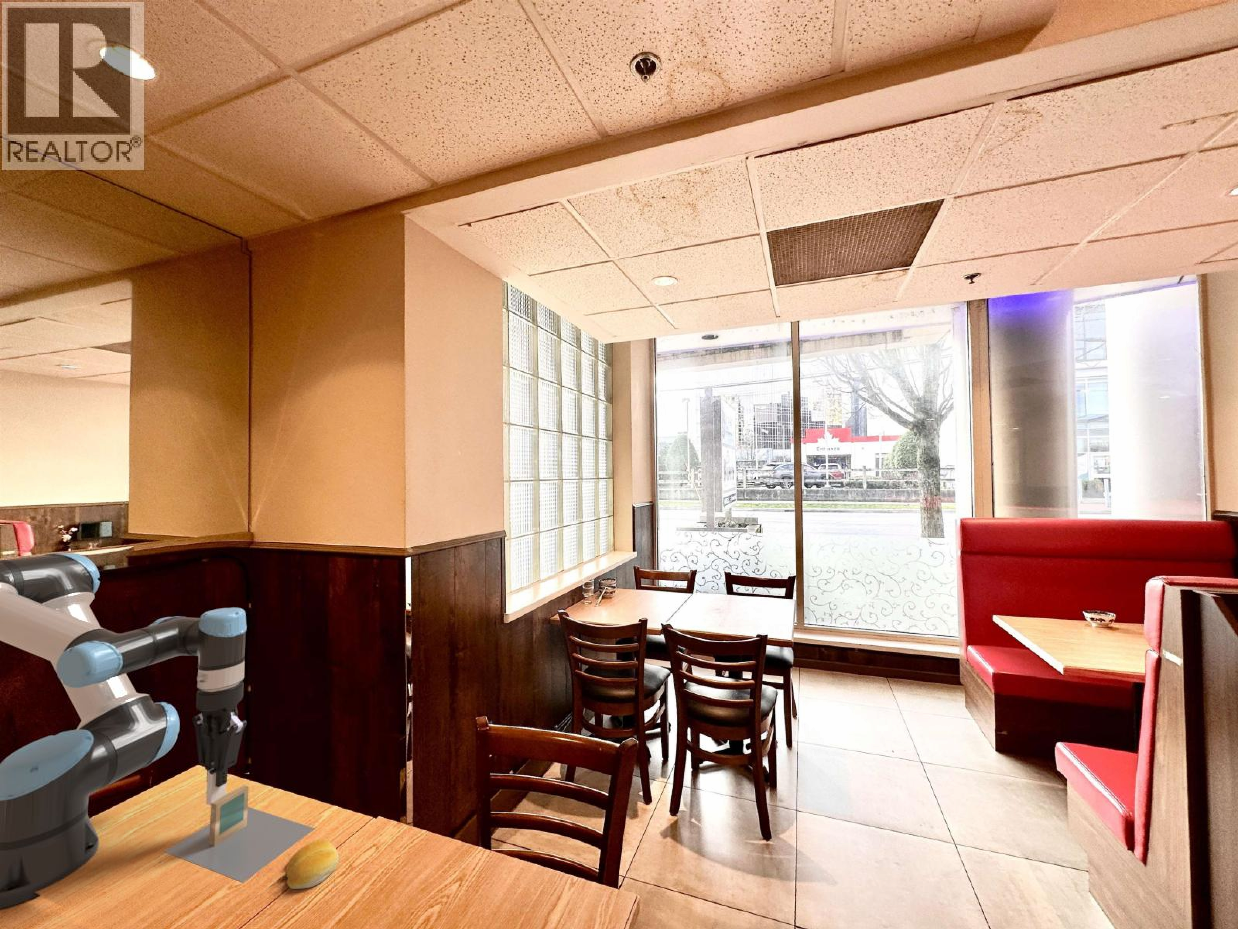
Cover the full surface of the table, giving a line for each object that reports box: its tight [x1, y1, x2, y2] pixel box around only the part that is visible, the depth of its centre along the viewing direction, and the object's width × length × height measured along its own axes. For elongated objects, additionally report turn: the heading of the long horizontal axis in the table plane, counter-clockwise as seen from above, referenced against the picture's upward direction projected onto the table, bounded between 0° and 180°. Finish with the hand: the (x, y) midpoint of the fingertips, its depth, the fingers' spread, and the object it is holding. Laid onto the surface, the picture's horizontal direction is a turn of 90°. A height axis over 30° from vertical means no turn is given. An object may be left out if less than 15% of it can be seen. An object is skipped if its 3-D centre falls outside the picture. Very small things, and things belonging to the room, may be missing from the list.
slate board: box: [163, 806, 316, 883], centre depth 94 cm, size 22×14×1 cm, turn 72°
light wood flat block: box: [209, 784, 250, 846], centre depth 95 cm, size 2×6×8 cm, turn 162°
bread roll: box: [285, 839, 340, 890], centre depth 88 cm, size 8×9×4 cm
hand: (216, 800), depth 97 cm, fingers closed
